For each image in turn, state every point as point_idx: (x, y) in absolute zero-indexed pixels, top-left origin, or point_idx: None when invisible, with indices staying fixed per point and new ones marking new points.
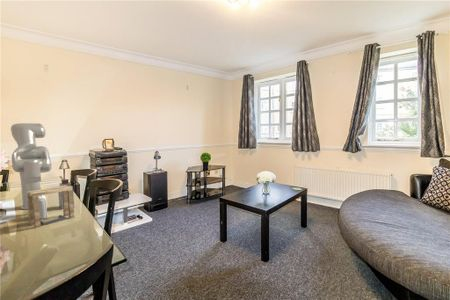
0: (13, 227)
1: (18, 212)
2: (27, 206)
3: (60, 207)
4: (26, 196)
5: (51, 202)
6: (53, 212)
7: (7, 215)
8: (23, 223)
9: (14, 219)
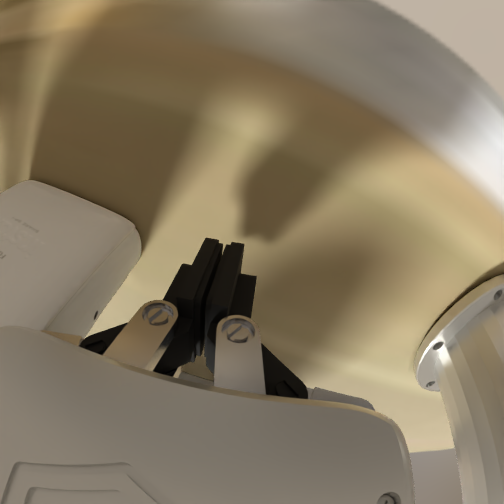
0: (11, 23)
1: (475, 206)
2: (487, 313)
3: (207, 383)
4: (393, 453)
5: (417, 406)
6: (117, 306)
7: (482, 102)
8: (21, 72)
9: (209, 24)
